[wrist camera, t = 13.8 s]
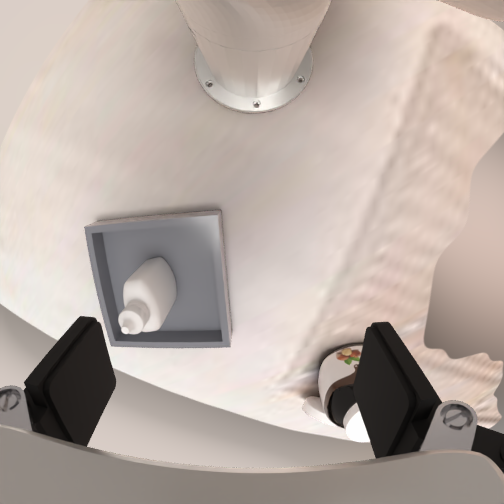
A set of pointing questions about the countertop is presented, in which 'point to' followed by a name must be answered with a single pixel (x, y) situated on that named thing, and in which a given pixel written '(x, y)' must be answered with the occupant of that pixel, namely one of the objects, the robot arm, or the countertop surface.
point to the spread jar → (339, 393)
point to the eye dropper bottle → (148, 297)
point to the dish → (183, 267)
